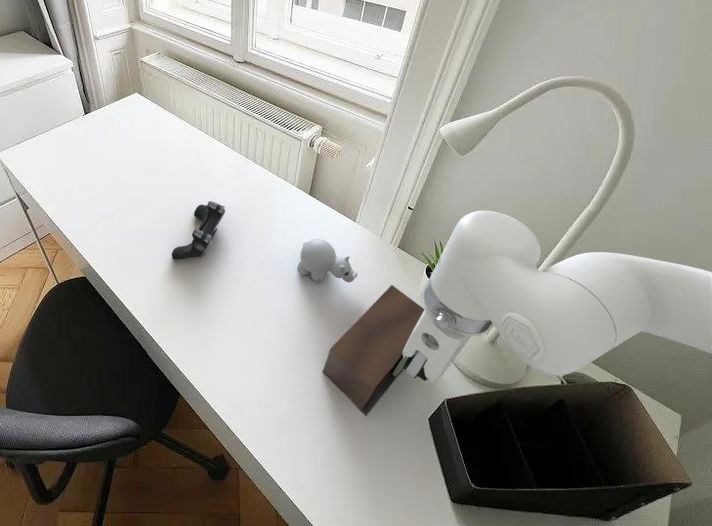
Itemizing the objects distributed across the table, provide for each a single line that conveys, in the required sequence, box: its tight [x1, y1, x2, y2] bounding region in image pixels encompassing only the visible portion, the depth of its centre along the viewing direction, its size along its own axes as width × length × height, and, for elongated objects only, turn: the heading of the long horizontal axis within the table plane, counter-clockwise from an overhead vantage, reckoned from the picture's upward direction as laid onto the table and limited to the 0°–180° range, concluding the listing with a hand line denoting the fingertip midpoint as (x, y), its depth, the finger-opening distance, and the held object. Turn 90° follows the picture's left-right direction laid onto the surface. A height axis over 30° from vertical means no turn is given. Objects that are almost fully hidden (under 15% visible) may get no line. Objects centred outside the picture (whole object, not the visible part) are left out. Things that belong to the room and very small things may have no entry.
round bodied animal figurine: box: [296, 238, 358, 283], centre depth 84 cm, size 7×12×8 cm, turn 54°
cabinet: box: [322, 284, 425, 417], centre depth 71 cm, size 9×18×9 cm, turn 130°
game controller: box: [171, 200, 226, 261], centre depth 93 cm, size 16×7×10 cm, turn 159°
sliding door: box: [393, 357, 418, 380], centre depth 69 cm, size 3×8×8 cm, turn 129°
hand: (417, 369), depth 60 cm, fingers closed
